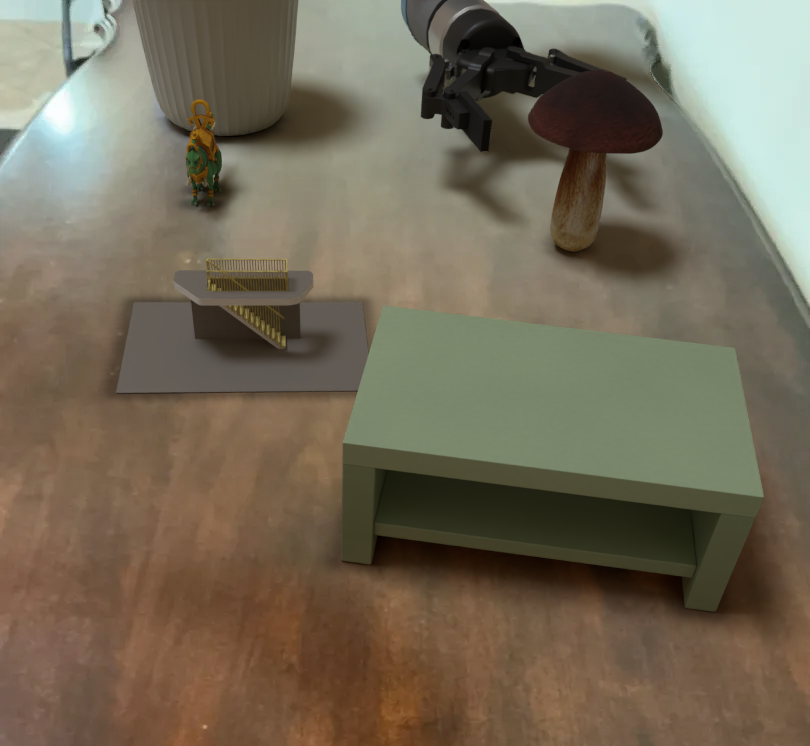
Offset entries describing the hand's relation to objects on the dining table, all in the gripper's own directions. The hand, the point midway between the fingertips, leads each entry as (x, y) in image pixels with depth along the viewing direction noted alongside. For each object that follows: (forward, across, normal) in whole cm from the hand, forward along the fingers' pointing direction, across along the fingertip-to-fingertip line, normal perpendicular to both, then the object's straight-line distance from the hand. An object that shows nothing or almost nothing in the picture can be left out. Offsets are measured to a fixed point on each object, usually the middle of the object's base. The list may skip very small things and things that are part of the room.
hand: (559, 131), depth 85 cm
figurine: (-11, +30, -8) cm, 33 cm away
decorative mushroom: (+6, 0, -8) cm, 10 cm away
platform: (+15, +31, -8) cm, 35 cm away
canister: (-28, +25, -8) cm, 38 cm away
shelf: (+37, +16, -8) cm, 41 cm away
